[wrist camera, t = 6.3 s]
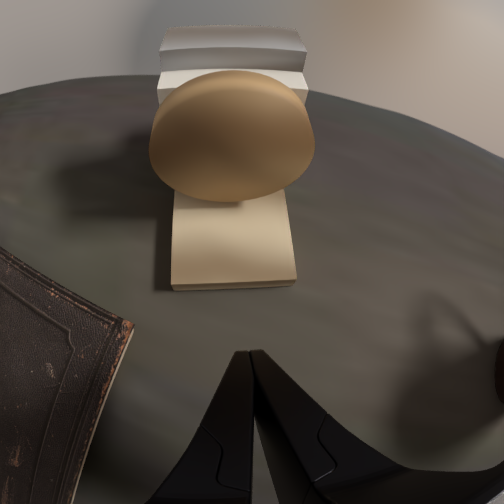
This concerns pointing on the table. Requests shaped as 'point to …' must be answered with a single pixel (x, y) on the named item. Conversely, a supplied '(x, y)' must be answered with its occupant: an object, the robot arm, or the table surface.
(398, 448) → the table surface
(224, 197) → the tan egg-shaped dome
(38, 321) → the hardcover book
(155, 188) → the table surface
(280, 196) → the base
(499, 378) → the coffee mug
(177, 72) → the spacer
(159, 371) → the table surface
